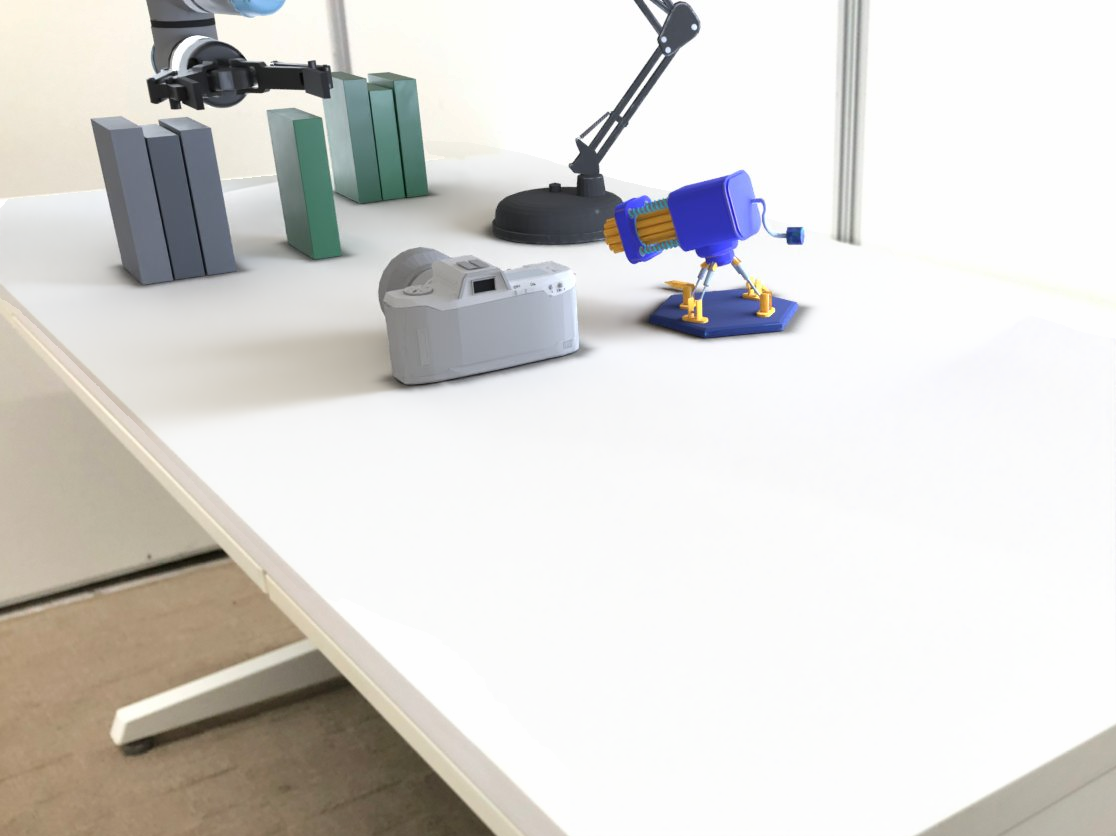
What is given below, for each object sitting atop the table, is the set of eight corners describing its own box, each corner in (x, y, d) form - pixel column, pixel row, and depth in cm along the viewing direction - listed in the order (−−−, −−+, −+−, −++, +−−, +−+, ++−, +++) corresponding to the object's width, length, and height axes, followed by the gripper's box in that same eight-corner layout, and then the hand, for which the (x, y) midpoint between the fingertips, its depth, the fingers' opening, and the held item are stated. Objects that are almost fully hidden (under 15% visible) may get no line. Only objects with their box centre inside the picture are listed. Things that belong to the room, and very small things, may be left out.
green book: (287, 243, 143) (265, 109, 137) (314, 239, 145) (293, 107, 138) (314, 259, 136) (292, 120, 130) (342, 255, 138) (322, 117, 132)
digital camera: (535, 359, 118) (550, 247, 115) (587, 400, 107) (605, 278, 103) (346, 342, 111) (357, 223, 107) (380, 385, 99) (392, 252, 96)
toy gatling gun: (701, 276, 129) (698, 144, 124) (842, 310, 118) (846, 167, 112) (590, 307, 120) (581, 165, 114) (732, 347, 109) (731, 193, 103)
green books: (335, 191, 168) (318, 72, 162) (402, 183, 173) (388, 67, 166) (359, 203, 162) (342, 80, 155) (429, 194, 166) (415, 74, 160)
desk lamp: (394, 238, 145) (334, -233, 125) (546, 197, 164) (516, -217, 144) (564, 266, 133) (528, -250, 113) (706, 218, 152) (698, -229, 132)
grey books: (122, 266, 134) (90, 118, 128) (213, 253, 139) (186, 110, 132) (142, 285, 128) (109, 130, 121) (237, 271, 132) (210, 121, 126)
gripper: (318, 96, 164) (379, 116, 149) (107, 114, 152) (149, 139, 136) (309, 32, 161) (370, 46, 145) (92, 45, 148) (133, 62, 133)
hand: (263, 91), depth 141 cm, fingers open, 13 cm apart
